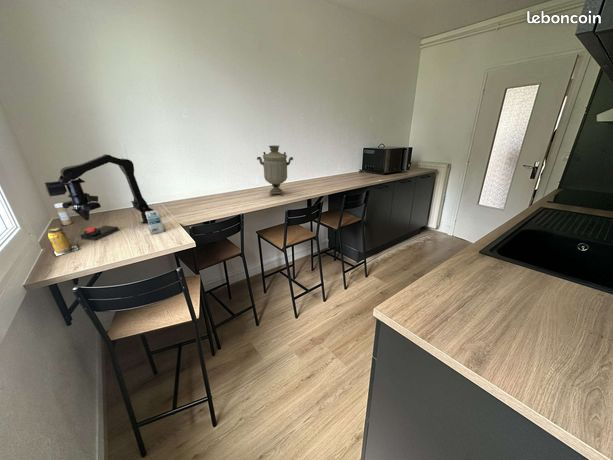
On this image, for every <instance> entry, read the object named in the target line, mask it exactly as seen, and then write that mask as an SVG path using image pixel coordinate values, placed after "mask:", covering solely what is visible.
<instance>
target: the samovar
mask: <svg viewBox="0 0 613 460" xmlns="http://www.w3.org/2000/svg"><path fill="white" fill-rule="evenodd" d="M268 147H269V150H270V152H269V153H266V151H263V152H262V154H263V155H262V156H257V157H256V160H258V161H259V164H260V165H261V166H263V177H264V180H265V182H267V183H269V184H271V187H272V188H271V189H270V191H269V193H270V194H269V197H273V195H280V196H284V194H283V192H284V191H283V189H281V188H280V187H281V185H282V184H283V183H285V182H286V181H287V179H288V166H290V164H291V162H292V161H293V160H294V157H293V156H291V157H289V158H288V161H287V157H288V155H287V152H286V151H284V152H283V153H281V152H280V151H279V149H280V145H277V144H276V145H275V144H274V145H268Z"/></svg>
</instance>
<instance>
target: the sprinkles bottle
mask: <svg viewBox="0 0 613 460" xmlns="http://www.w3.org/2000/svg"><path fill="white" fill-rule="evenodd" d="M63 203H64V202H57V203H54V204H53V206H54V208H55V210H56V212H57V215H58V217H59V220H60V222H61V223H62V225H63V226H69V225H71V224H73V222H72V220H71V216H70V215H69V213H68V210H67V208H63V206H62V204H63Z"/></svg>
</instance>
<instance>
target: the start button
mask: <svg viewBox="0 0 613 460" xmlns="http://www.w3.org/2000/svg"><path fill="white" fill-rule="evenodd" d="M96 228H97V227H95V226H89V227H86V228H85V231H87V233H89V232H94V231H96Z"/></svg>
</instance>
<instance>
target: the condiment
mask: <svg viewBox="0 0 613 460" xmlns="http://www.w3.org/2000/svg"><path fill="white" fill-rule="evenodd" d="M47 235H48V239H49V241H50V244H51V246H52V248H53V250H54V251H53V252H54V254H55V256H56V257H57V256H61V255H64V254H68V253H70V252H71V253H72V252H75V251H77V250H79V248H78V246H77V245H76V244H75V245H72V246H71V243H70V241H69V239H68V237H67V235H66V233H65V232H64V230H63V228H62V227H53V228H49V229H48V230H47Z"/></svg>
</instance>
